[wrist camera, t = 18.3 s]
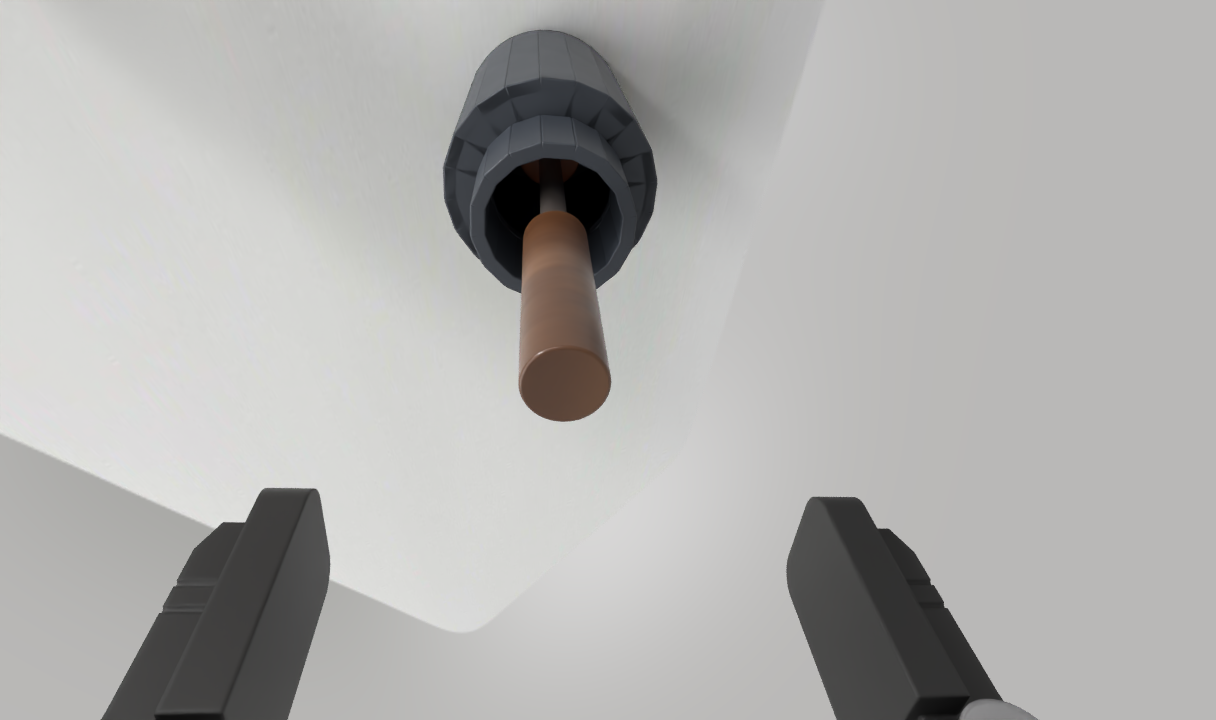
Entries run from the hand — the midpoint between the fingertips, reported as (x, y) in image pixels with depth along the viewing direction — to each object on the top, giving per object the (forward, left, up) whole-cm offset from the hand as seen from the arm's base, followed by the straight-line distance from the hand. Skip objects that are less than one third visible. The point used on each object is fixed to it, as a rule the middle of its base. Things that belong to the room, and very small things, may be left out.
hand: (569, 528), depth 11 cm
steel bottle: (0, 0, -29) cm, 29 cm away
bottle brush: (0, 0, -28) cm, 28 cm away
